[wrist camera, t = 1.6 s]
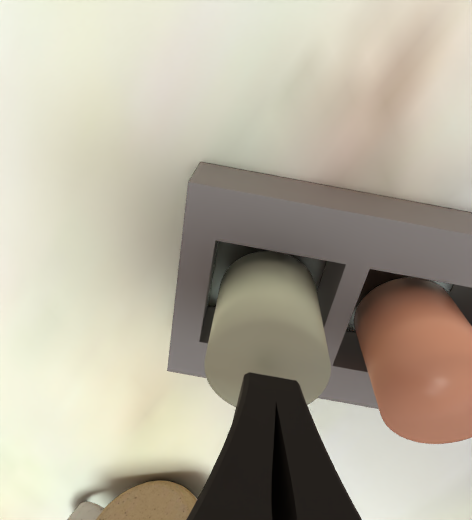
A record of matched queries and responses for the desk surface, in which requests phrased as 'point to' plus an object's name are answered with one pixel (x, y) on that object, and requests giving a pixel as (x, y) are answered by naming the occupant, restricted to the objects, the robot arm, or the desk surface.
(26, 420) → the desk surface
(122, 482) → the desk surface
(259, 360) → the button sage
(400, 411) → the button terracotta
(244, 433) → the robot arm
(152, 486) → the ceramic mug
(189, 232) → the panel
